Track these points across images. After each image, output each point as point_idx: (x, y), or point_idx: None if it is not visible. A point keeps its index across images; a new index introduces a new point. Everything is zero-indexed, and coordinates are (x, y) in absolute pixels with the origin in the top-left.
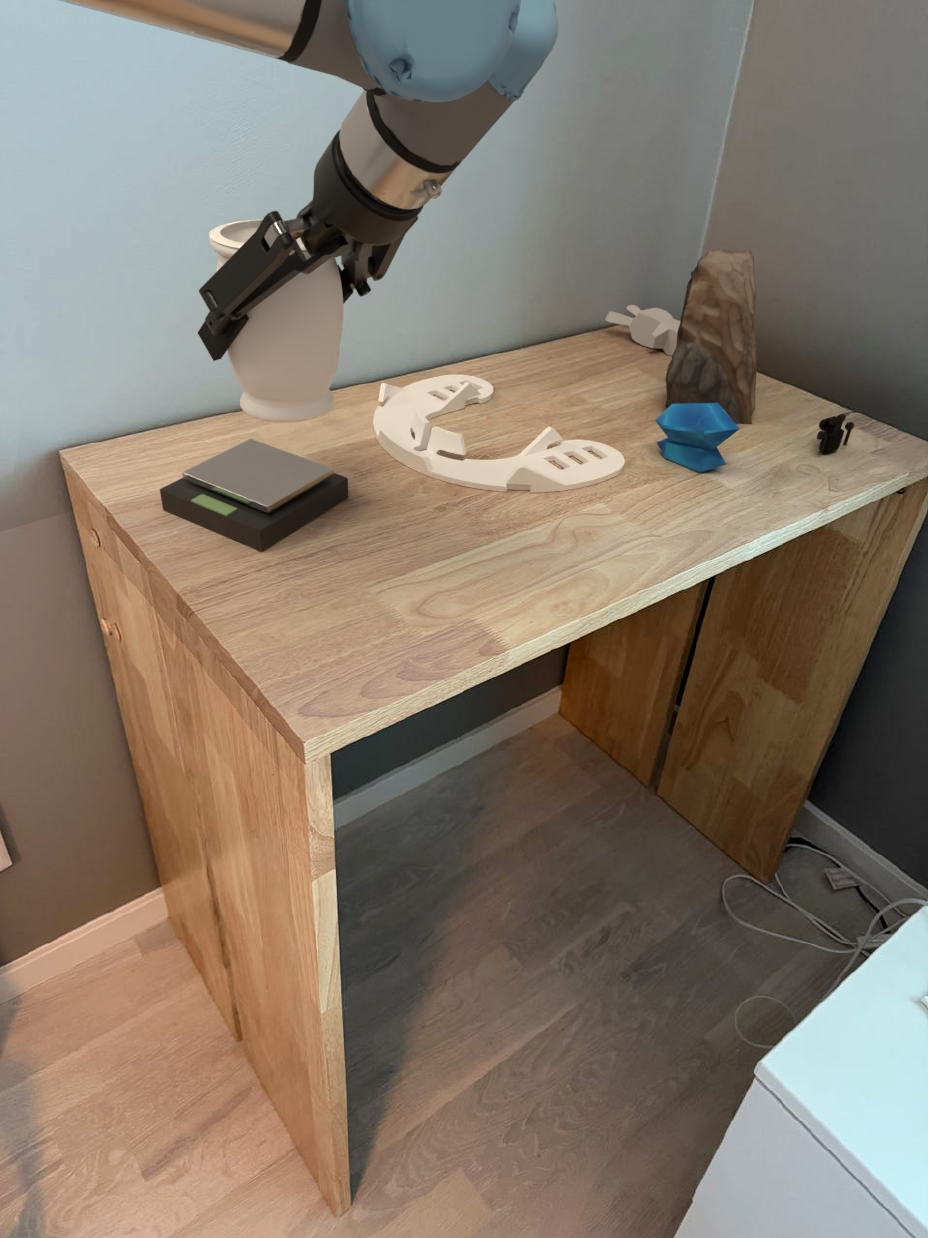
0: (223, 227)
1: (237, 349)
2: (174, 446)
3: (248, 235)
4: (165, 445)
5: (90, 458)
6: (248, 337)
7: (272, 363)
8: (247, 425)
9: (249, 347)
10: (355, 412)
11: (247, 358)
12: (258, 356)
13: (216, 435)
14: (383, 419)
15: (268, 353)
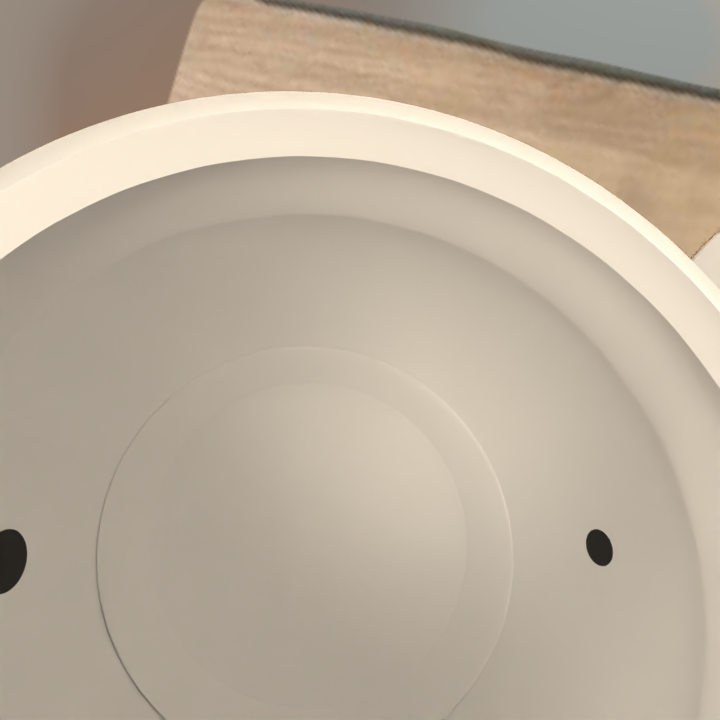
0: (72, 209)
1: (71, 570)
2: (352, 94)
3: (369, 190)
4: (342, 81)
5: (218, 40)
6: (47, 663)
7: (139, 704)
8: (501, 111)
9: (72, 642)
10: (695, 196)
11: (93, 608)
12: (100, 667)
13: (434, 107)
14: (716, 265)
15: (117, 711)
